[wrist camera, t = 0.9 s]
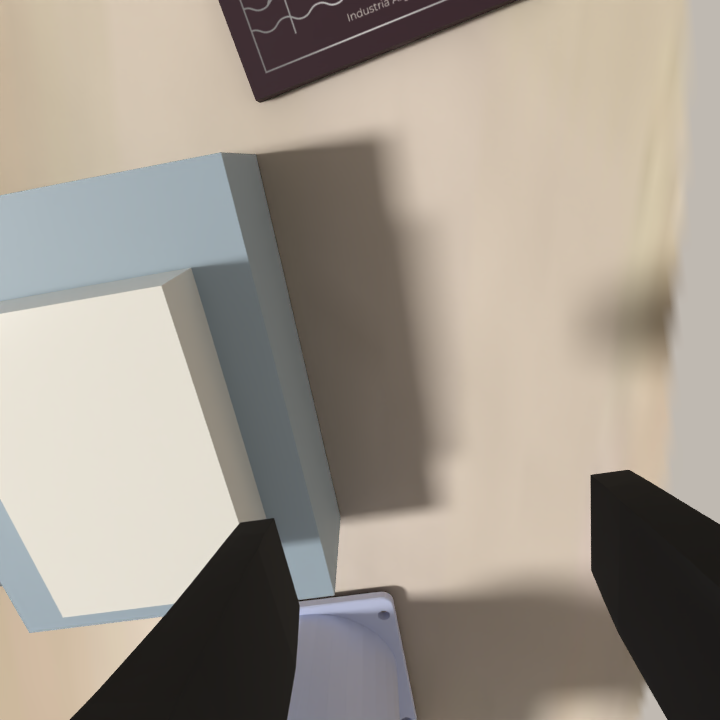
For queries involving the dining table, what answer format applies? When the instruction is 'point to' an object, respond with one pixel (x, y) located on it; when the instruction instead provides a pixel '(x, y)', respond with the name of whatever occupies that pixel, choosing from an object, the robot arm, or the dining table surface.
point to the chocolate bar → (331, 34)
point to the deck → (226, 323)
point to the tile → (119, 441)
